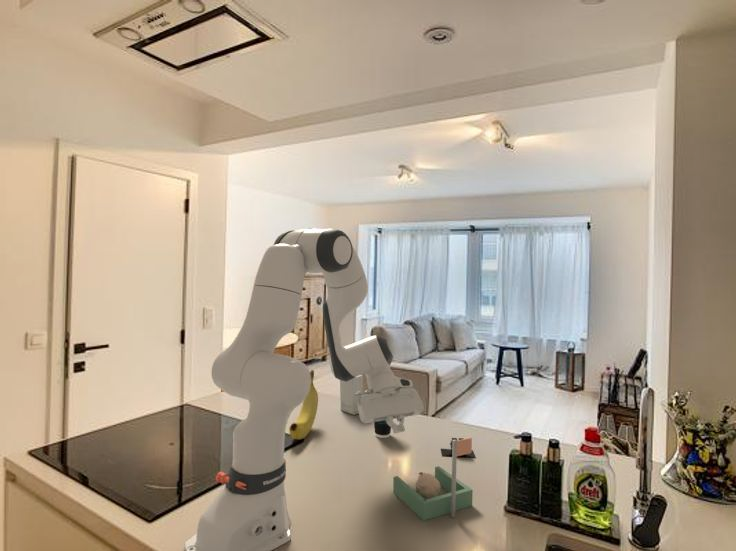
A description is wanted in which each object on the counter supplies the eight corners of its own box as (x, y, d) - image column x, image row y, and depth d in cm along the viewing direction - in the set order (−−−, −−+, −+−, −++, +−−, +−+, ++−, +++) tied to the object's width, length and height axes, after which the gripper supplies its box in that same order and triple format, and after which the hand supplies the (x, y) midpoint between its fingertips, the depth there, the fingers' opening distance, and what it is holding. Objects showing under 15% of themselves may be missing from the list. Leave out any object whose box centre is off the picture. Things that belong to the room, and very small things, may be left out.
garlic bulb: (411, 493, 111) (412, 462, 111) (434, 491, 112) (435, 460, 112) (420, 507, 104) (420, 475, 104) (444, 504, 106) (445, 472, 105)
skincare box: (363, 412, 172) (364, 375, 172) (352, 415, 168) (353, 377, 168) (350, 407, 178) (350, 371, 178) (338, 410, 174) (339, 373, 174)
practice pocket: (393, 492, 111) (394, 423, 111) (438, 480, 118) (439, 415, 117) (428, 525, 97) (430, 446, 97) (478, 510, 103) (479, 436, 103)
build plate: (477, 451, 139) (477, 436, 139) (481, 462, 131) (482, 446, 131) (435, 448, 140) (436, 433, 140) (437, 459, 132) (438, 443, 132)
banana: (301, 448, 137) (302, 385, 137) (284, 446, 138) (285, 384, 138) (320, 422, 159) (321, 369, 159) (305, 421, 160) (306, 368, 160)
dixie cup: (383, 429, 154) (384, 398, 154) (398, 436, 148) (399, 404, 148) (366, 434, 149) (367, 402, 149) (381, 441, 143) (382, 409, 143)
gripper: (356, 386, 124) (371, 432, 115) (416, 380, 133) (433, 421, 124) (349, 397, 128) (363, 442, 119) (407, 390, 137) (424, 431, 129)
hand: (399, 431), depth 122 cm, fingers closed
